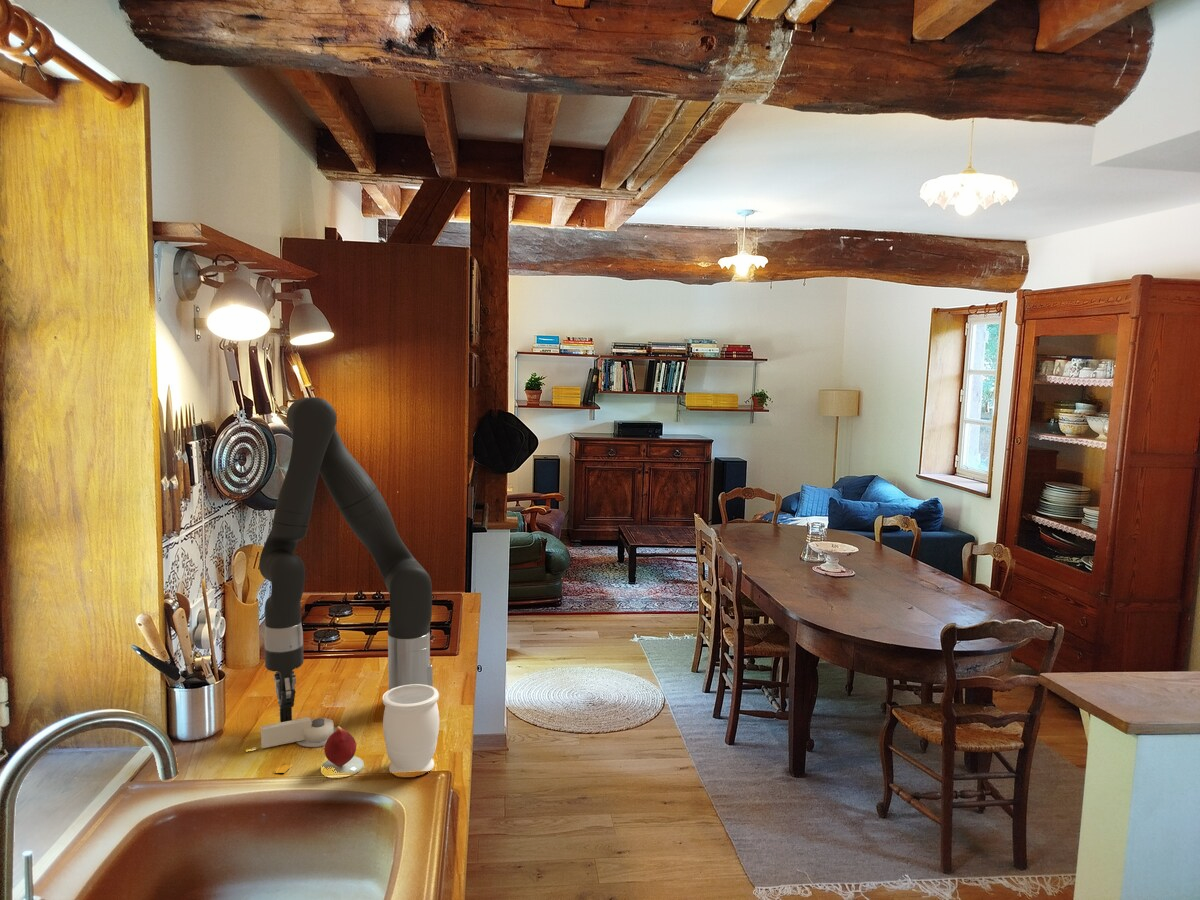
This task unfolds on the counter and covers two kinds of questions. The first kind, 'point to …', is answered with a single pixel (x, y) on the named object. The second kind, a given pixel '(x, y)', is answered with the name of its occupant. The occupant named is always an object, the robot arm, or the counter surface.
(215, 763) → the counter surface
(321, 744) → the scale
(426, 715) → the jar
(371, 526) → the robot arm
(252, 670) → the counter surface
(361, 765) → the coaster
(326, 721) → the handle
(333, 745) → the onion
